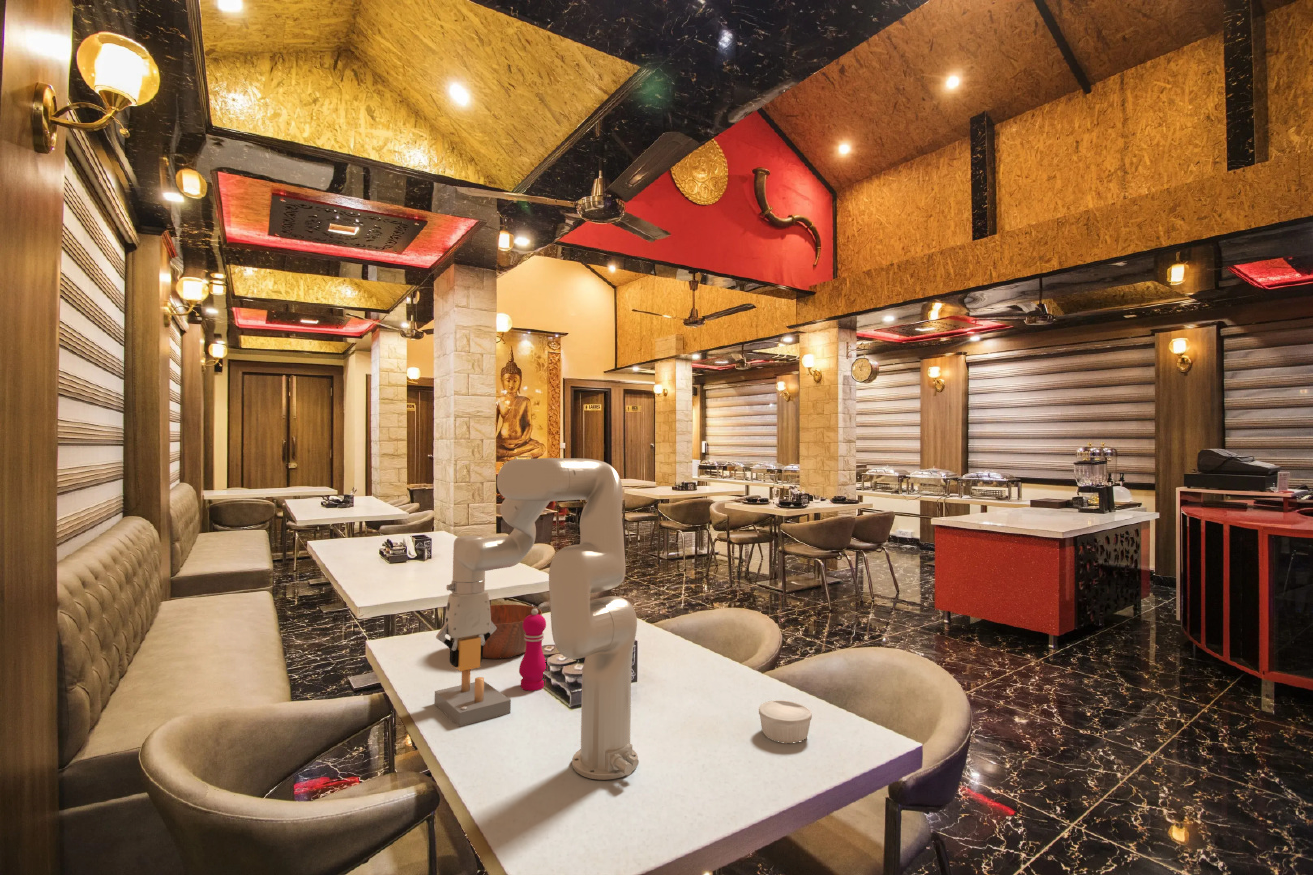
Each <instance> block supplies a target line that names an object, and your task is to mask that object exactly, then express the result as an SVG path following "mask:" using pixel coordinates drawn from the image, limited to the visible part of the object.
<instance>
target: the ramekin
mask: <svg viewBox="0 0 1313 875" xmlns="http://www.w3.org/2000/svg"><path fill="white" fill-rule="evenodd" d="M758 714H759V717H760V718H759V719H760V727H761V731H762V732H763V734H764V735H765V737H767V738H768V737H769V738H770V739H769V738H768V739H769V740H771V739H772V740H771V741H773V740H775V741H774V742H776V741H779V742H778V743H780V742H784V743H783V744H787V743H793V742H799V741H802V740H803V741H805V740H806V739H807V737H808V734H809V731H810V730H809V729H810V724H811V720H812V718H813V716H812V715H813V713H812V711H811V709H809V708H808V707H807V706H805V705H803V704H800V703H797V702H793V701H788V700H780V699H779V700H778V699H777V700H776V699H775V700H770V701H765V702H763V703H761V704H760V705H759V706H758ZM804 739H805V740H804ZM803 741H802V742H803ZM799 743H800V742H799Z"/></svg>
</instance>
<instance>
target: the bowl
mask: <svg viewBox="0 0 1313 875" xmlns="http://www.w3.org/2000/svg"><path fill="white" fill-rule="evenodd" d="M534 608H535V609H537V610H538V614H539V615H541V616H543V611H542V609H540V608H538V607H536V606H532V605H525V604H493V605H491V604H490V613H491V621H492V622H493V624H494V625H495V626H496V627H497V629H496V630H495V631H494V632H493V633H492V634H491V635H490V637H489V638H488V639H487V640H486V642H485V645H483V657H482V658H484V659H492V660H493V659H494V660H497V659H508V658H512V657H513V656H514V657H517V656H519V655H522V654H525V651H526V640H525V639H524V638H525V636H524V634H525V633H526V632H525V631H524V630H523V621H524V619H525V618H526V617H527V616H529V615H532V613H531V611H532V609H534ZM482 658H481V659H482Z"/></svg>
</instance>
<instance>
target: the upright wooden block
mask: <svg viewBox="0 0 1313 875" xmlns="http://www.w3.org/2000/svg"><path fill="white" fill-rule="evenodd" d="M457 650H459V661H458V667H454V666H453V665H451V666H452V667H454V669H456V670H457V671H459V672H462V671H464V670H469V669H471V670H474V669H478V668H481V662H480V656H481V637H479V636H471V637H465V638H460V640H459V643H458V646H457Z"/></svg>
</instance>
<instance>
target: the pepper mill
mask: <svg viewBox="0 0 1313 875" xmlns="http://www.w3.org/2000/svg"><path fill="white" fill-rule="evenodd" d="M535 608H536V607H535ZM535 608H534V609H532V611H531V613H532V615H529V616H527V617H526V618H525V619H524V621H523V630H524V631H525V632H526V633H525V634H524V636H525V638H524V639H525V640H526V651H525V652H524V653H523V657H522V660H521V661H520V664H519V667H518V669H519V670H518V672H519V675H520V676H521V677H522V678H520V688H521V690H523V689H524V690H523V691H527V690H528V691H529V692H531V691H532V692H535V691H539V689H540V690H542V689H544V688H545V687H544V681H543V680H542V678H543V672H544V671H545V669H546V663H545V662H547V660H546V661H545V659H546V658H545V657H546V656H545V655H544V652H543V644H542V643H543V641H544V639H545V637H544V636H545V633H544V631H545V630H546V628H547V621H546V618H545V617H544V616H543V615H542V616H541V615H539V614H538V610H537V609H535ZM543 687H544V688H543ZM534 690H535V691H534Z"/></svg>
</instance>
